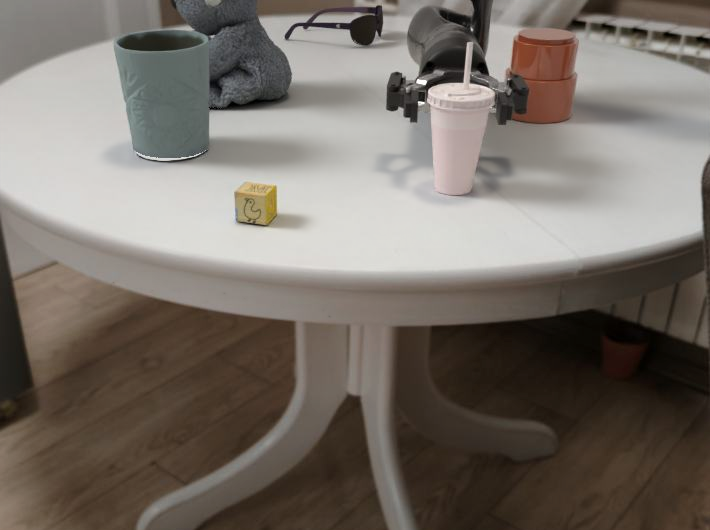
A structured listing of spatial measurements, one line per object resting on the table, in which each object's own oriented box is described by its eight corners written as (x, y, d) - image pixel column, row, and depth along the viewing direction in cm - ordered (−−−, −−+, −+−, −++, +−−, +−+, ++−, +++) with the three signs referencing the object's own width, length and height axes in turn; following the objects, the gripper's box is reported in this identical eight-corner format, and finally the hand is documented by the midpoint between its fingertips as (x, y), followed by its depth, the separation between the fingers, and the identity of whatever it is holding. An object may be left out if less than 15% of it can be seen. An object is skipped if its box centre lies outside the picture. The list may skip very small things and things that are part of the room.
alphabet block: (247, 210, 77) (245, 179, 75) (278, 213, 76) (276, 183, 74) (235, 222, 74) (233, 191, 73) (266, 226, 74) (265, 195, 72)
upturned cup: (533, 99, 108) (544, 23, 103) (586, 115, 102) (599, 35, 97) (486, 110, 104) (494, 31, 98) (537, 127, 98) (549, 45, 92)
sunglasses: (365, 50, 132) (366, 18, 129) (277, 43, 136) (276, 11, 134) (390, 33, 142) (391, 3, 140) (307, 27, 147) (306, -3, 144)
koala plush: (187, 75, 119) (174, -74, 108) (306, 81, 116) (304, -71, 105) (142, 109, 105) (121, -58, 94) (276, 117, 101) (270, -55, 91)
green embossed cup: (172, 129, 97) (161, 25, 91) (236, 145, 92) (229, 36, 86) (108, 153, 90) (91, 41, 84) (174, 171, 86) (161, 54, 79)
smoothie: (498, 191, 81) (516, 45, 73) (450, 205, 78) (463, 55, 70) (455, 172, 85) (467, 33, 78) (408, 185, 82) (416, 41, 74)
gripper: (390, 35, 90) (386, 72, 76) (520, 37, 88) (539, 75, 75) (388, 103, 94) (383, 149, 80) (512, 105, 92) (528, 153, 79)
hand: (458, 113), depth 77 cm, fingers open, 8 cm apart
